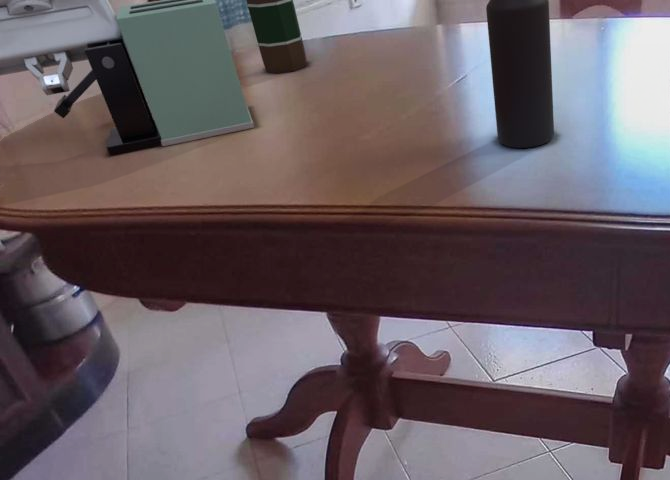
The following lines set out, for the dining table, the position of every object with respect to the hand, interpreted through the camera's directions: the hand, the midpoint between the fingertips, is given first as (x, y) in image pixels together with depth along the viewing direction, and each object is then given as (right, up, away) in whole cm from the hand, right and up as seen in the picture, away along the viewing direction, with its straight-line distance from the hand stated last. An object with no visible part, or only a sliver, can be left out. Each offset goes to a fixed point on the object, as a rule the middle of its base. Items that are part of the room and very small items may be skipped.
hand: (56, 91), depth 92 cm
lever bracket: (+8, -4, +7) cm, 11 cm away
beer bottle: (+21, +16, +33) cm, 42 cm away
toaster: (+16, -2, +9) cm, 19 cm away
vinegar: (+61, -9, -7) cm, 62 cm away
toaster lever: (+4, +1, +2) cm, 5 cm away
